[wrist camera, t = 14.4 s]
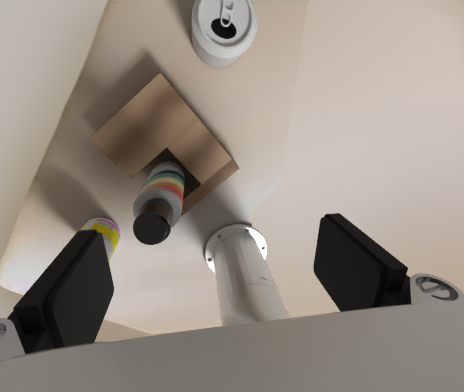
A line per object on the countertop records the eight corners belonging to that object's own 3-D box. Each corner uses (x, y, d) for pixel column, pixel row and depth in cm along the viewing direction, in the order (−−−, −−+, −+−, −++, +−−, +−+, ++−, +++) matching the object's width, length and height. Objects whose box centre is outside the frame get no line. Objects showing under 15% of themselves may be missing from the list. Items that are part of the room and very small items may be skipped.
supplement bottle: (90, 251, 47) (55, 302, 35) (77, 220, 45) (35, 263, 33) (126, 244, 48) (104, 292, 36) (115, 213, 45) (87, 253, 33)
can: (186, 59, 38) (184, 43, 27) (198, 2, 36) (200, -41, 25) (233, 74, 40) (249, 65, 29) (247, 21, 37) (270, -11, 26)
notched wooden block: (235, 162, 45) (239, 168, 41) (177, 210, 47) (176, 220, 43) (163, 75, 38) (160, 72, 35) (98, 135, 40) (88, 138, 36)
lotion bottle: (173, 196, 46) (161, 263, 27) (145, 180, 44) (111, 239, 25) (191, 171, 44) (190, 222, 26) (162, 153, 43) (139, 194, 24)
